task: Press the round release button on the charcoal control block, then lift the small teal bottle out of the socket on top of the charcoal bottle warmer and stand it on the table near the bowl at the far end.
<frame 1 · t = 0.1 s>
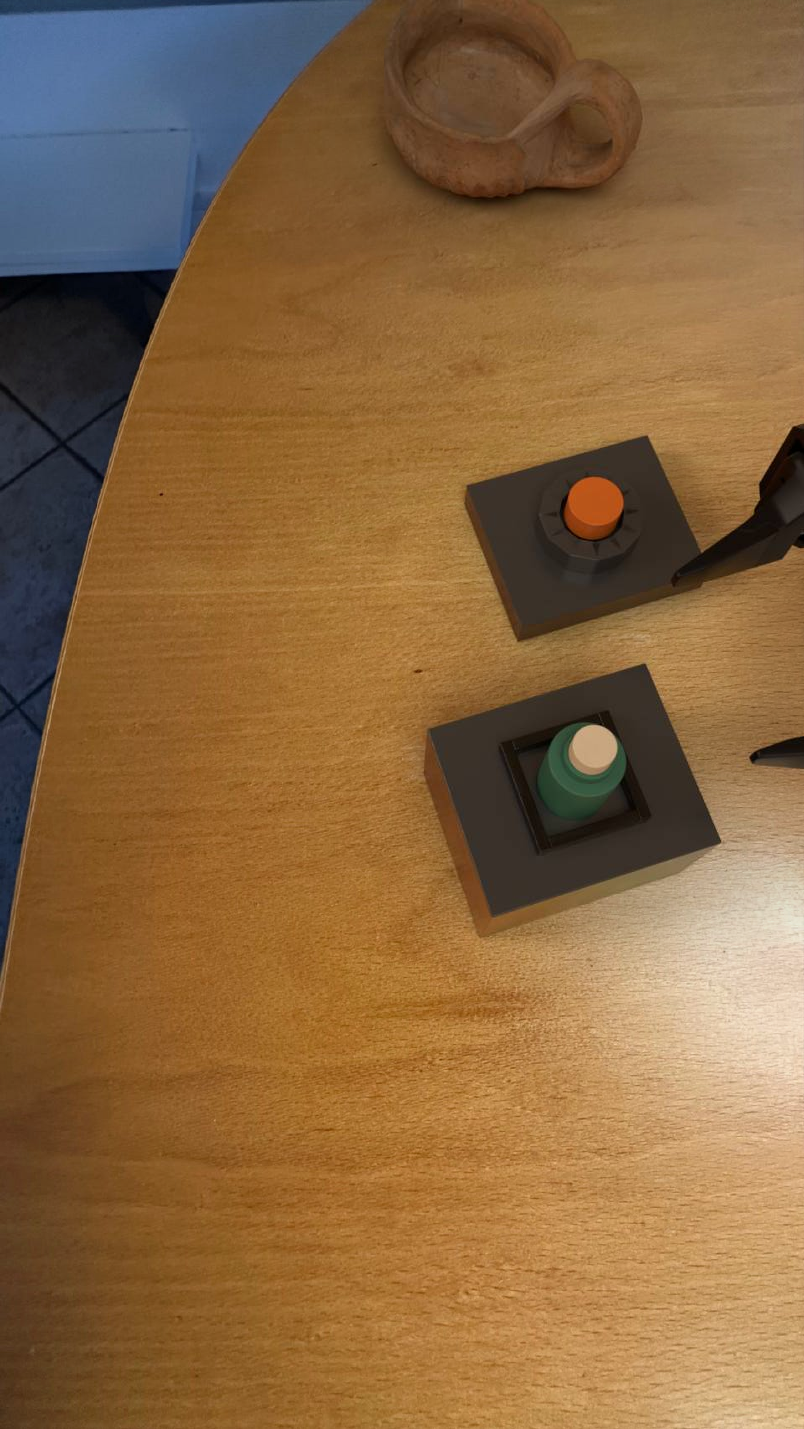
hand: (712, 666, 48), 14 cm above the table, tool horizontal, fingers open, 9 cm apart
bottle: (572, 784, 53), point 8 cm above the table, touching warmer
control: (580, 545, 66), on the table
bowl: (504, 159, 77), on the table
button: (593, 508, 62), point 4 cm above the table, slide at 0.1 cm
warmer: (550, 821, 60), on the table
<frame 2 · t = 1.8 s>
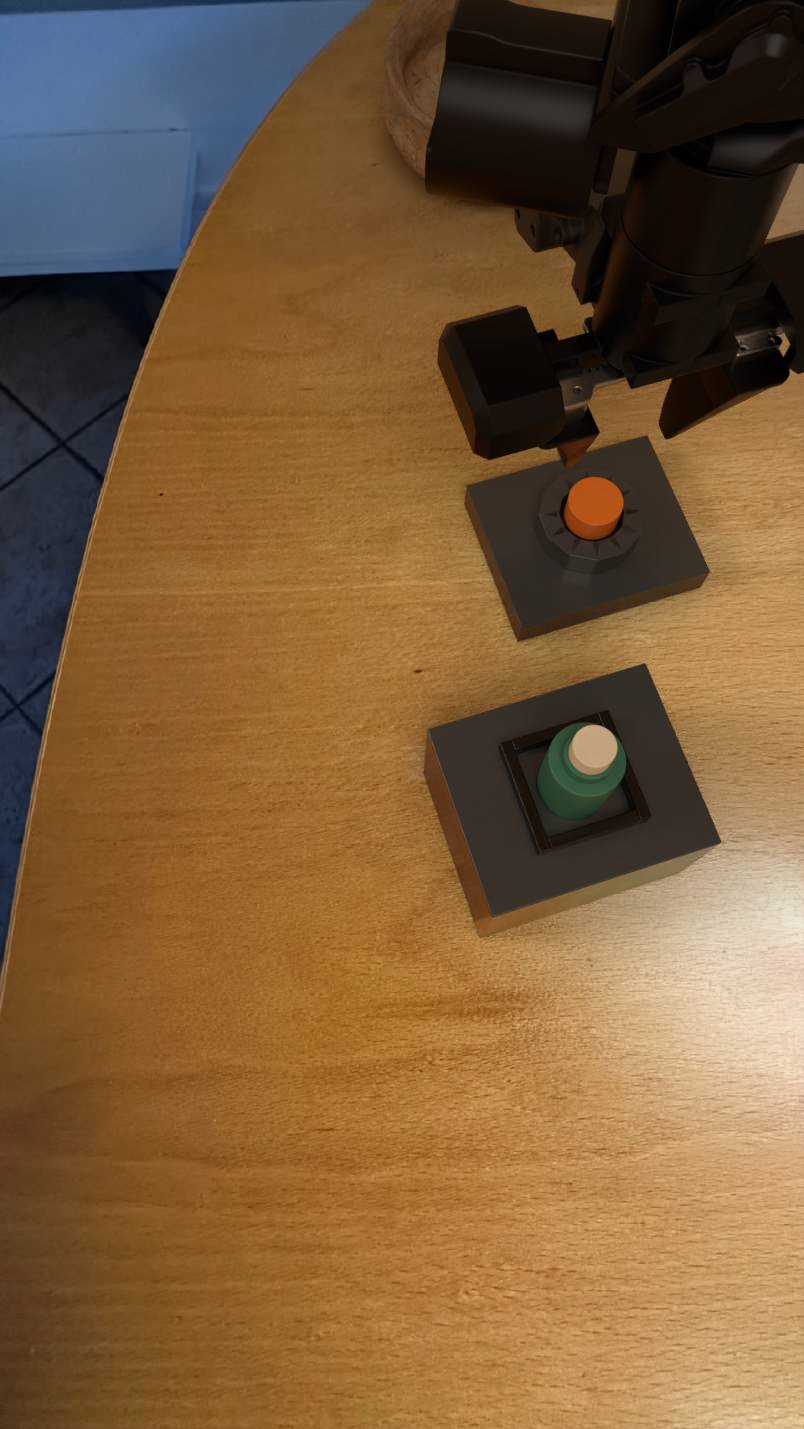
hand: (614, 445, 56), 11 cm above the table, tool pointing down, fingers open, 5 cm apart
nothing on the table moved.
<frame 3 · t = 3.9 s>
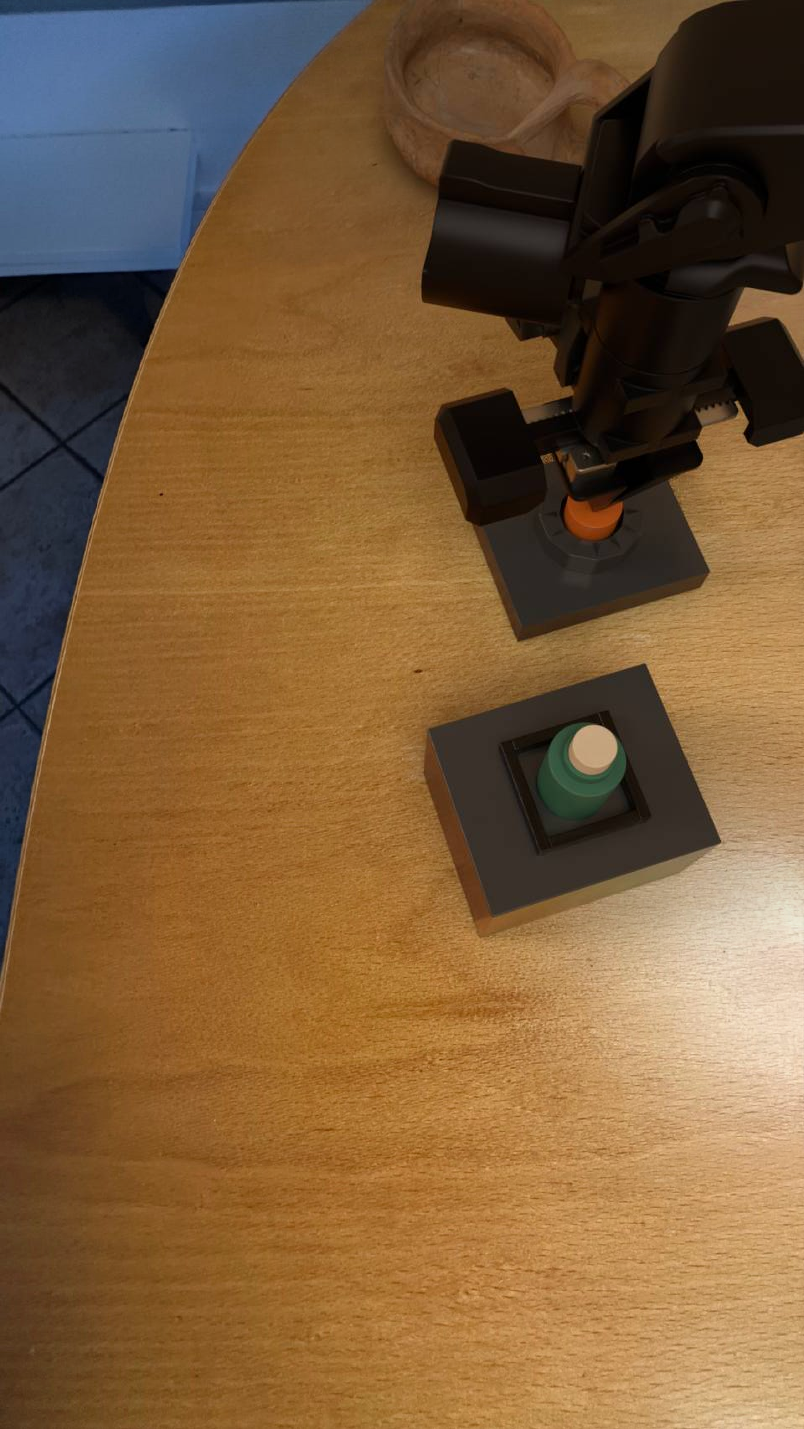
hand: (595, 503, 61), 5 cm above the table, tool pointing down, fingers closed, pressing on button
button: (592, 511, 62), point 4 cm above the table, slide at -0.2 cm, touching gripper
everything else where it was.
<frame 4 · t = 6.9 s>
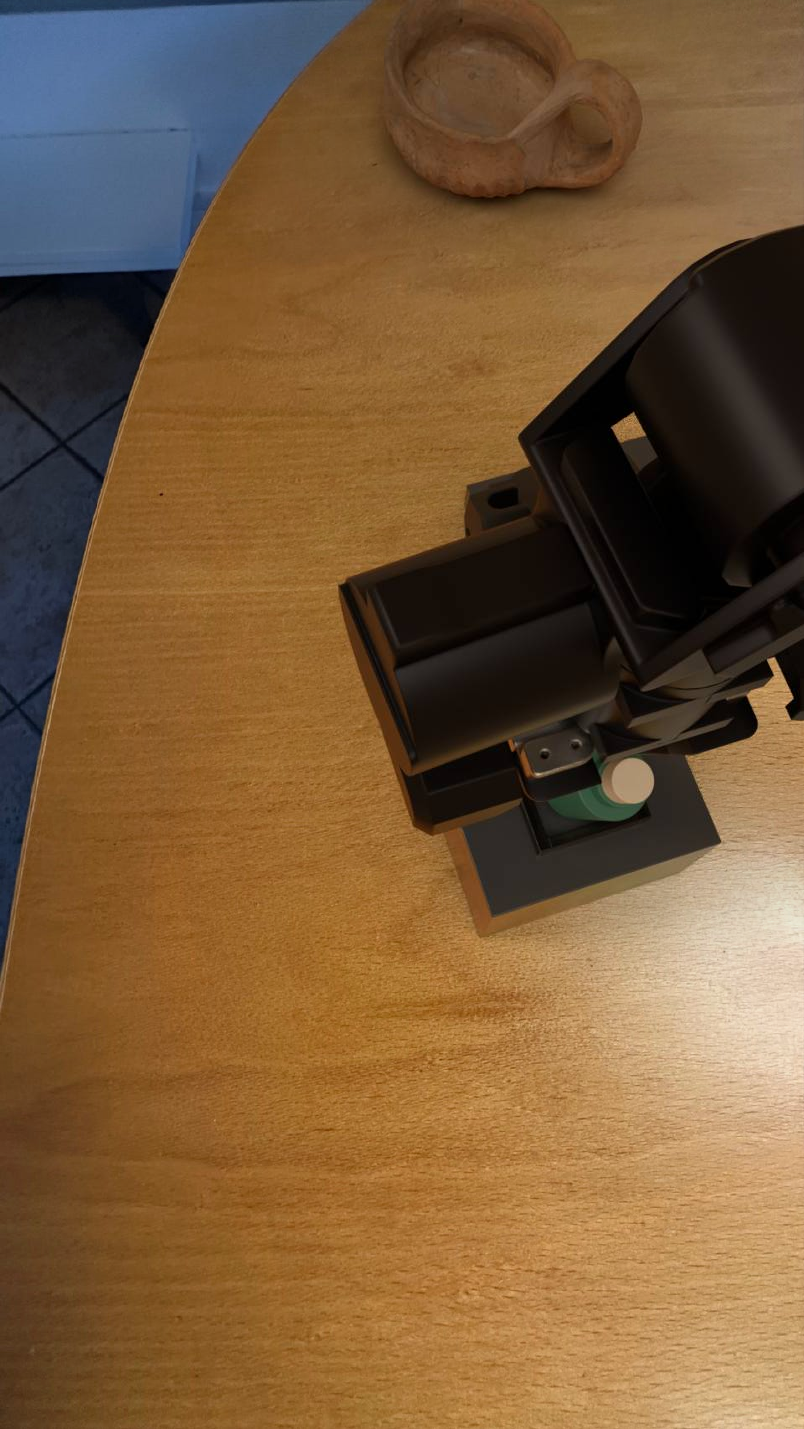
hand: (588, 750, 48), 13 cm above the table, tool pointing down, fingers closed
bottle: (576, 782, 52), point 9 cm above the table, tilted 19°, touching gripper, warmer
button: (593, 508, 62), point 4 cm above the table, slide at 0.1 cm
everything else where it was.
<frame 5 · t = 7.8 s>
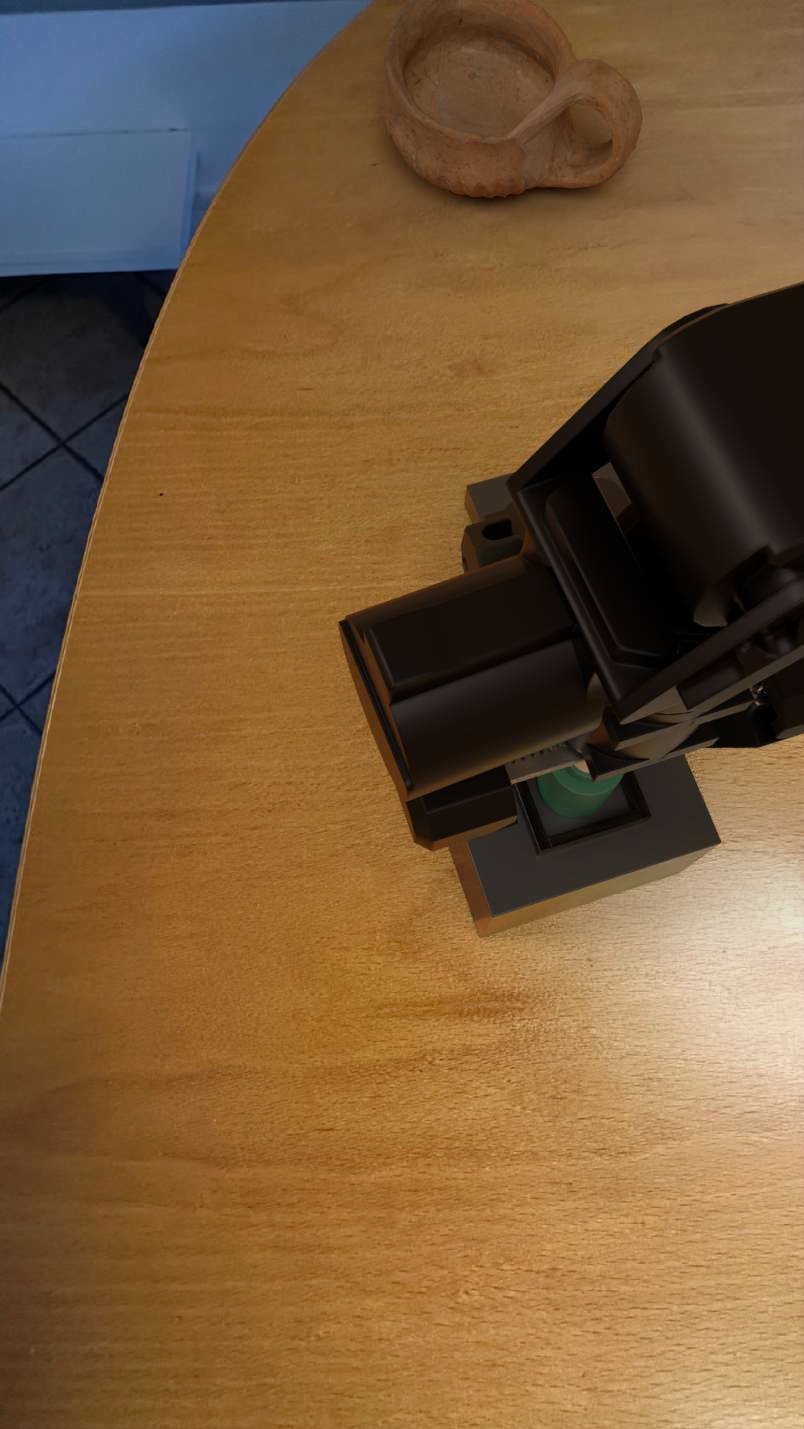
hand: (584, 764, 50), 11 cm above the table, tool pointing down, fingers open, 9 cm apart
bottle: (572, 783, 53), point 8 cm above the table, touching warmer
everything else where it was.
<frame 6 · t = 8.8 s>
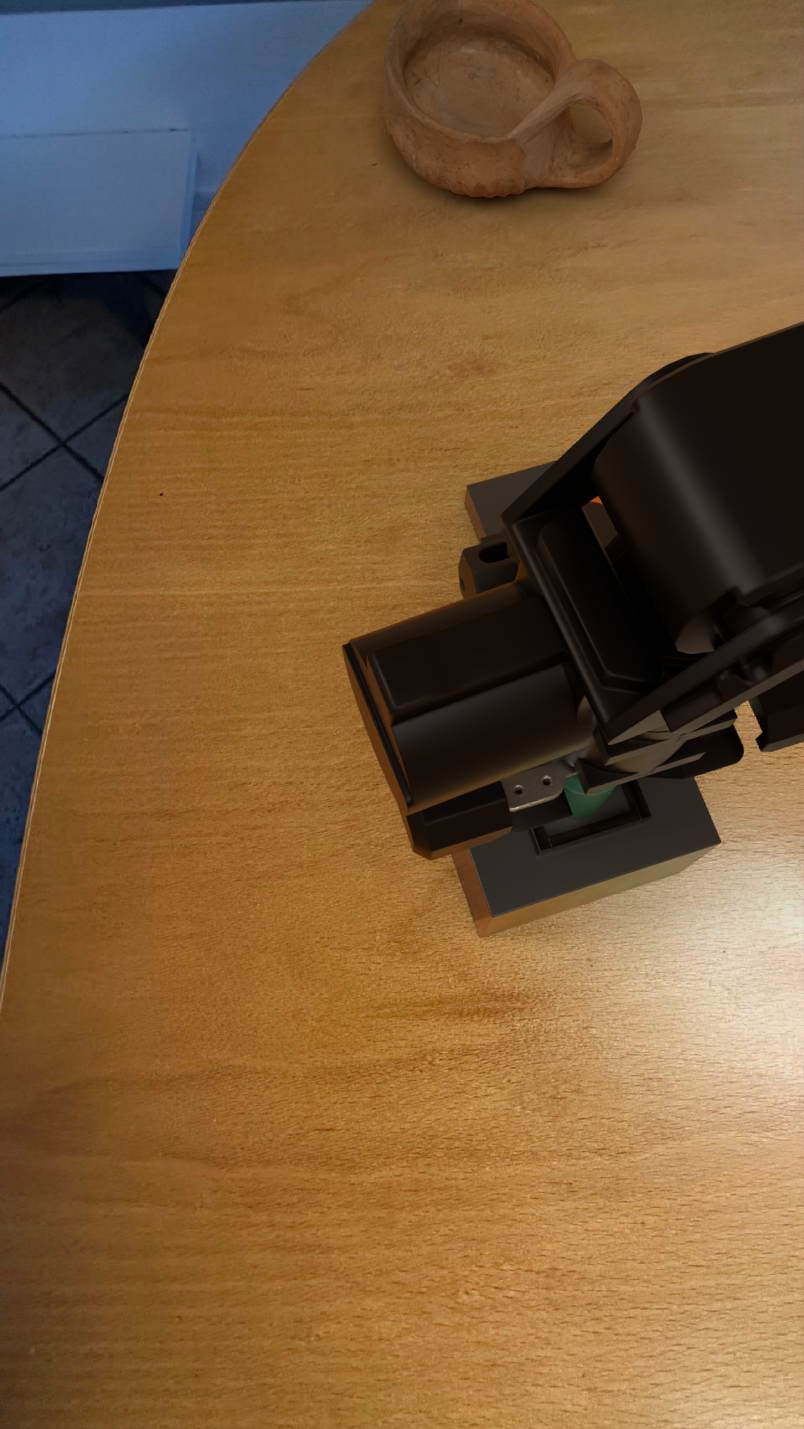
hand: (577, 775, 51), 10 cm above the table, tool pointing down, fingers closed on bottle, 3 cm apart
bottle: (572, 783, 53), point 8 cm above the table, touching gripper, warmer
everything else where it was.
when the fingers open (1 cm above the table, at t = 15.3 s): bottle stays where it is, on the table.
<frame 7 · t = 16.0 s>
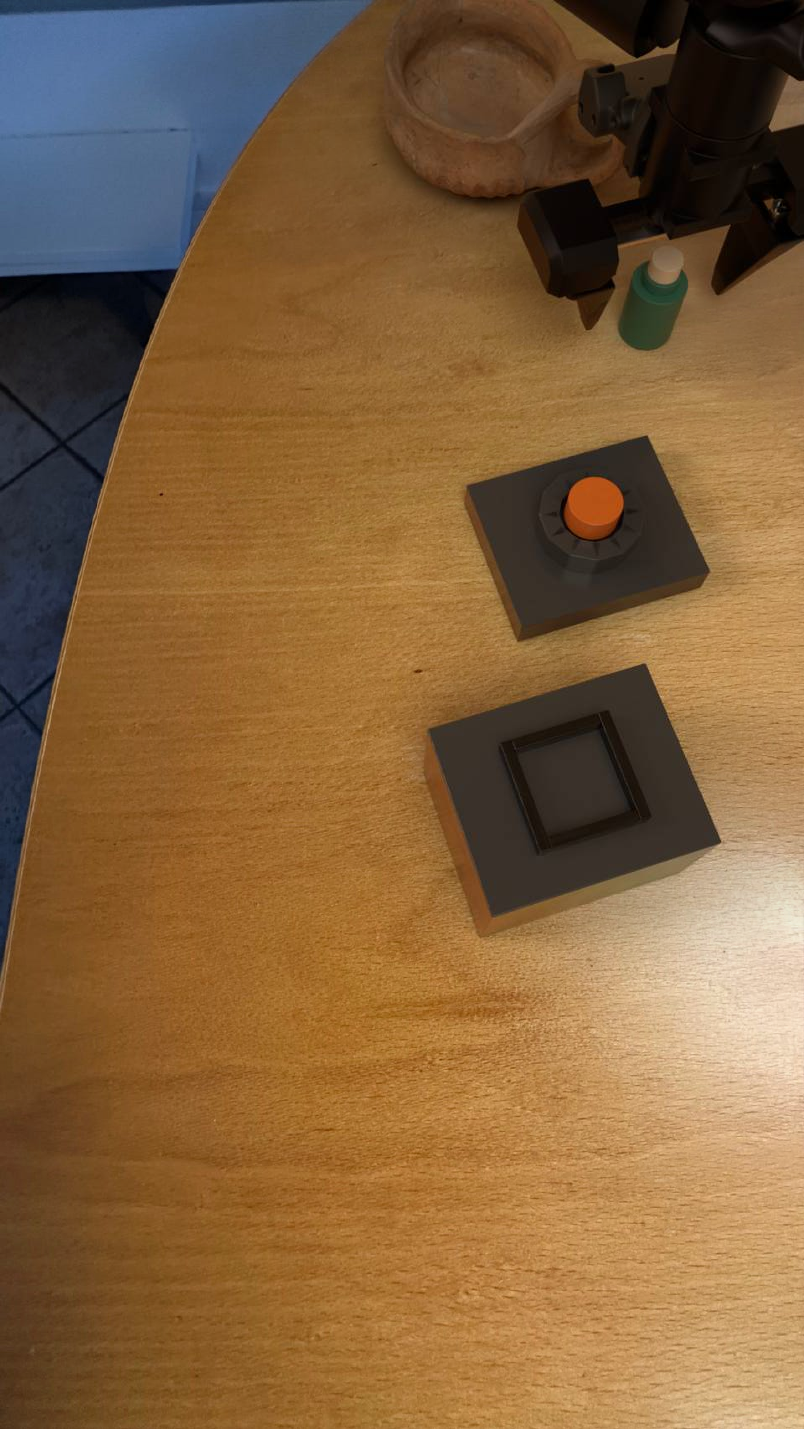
hand: (651, 307, 69), 2 cm above the table, tool pointing down, fingers open, 9 cm apart
bottle: (644, 328, 72), on the table
everything else where it was.
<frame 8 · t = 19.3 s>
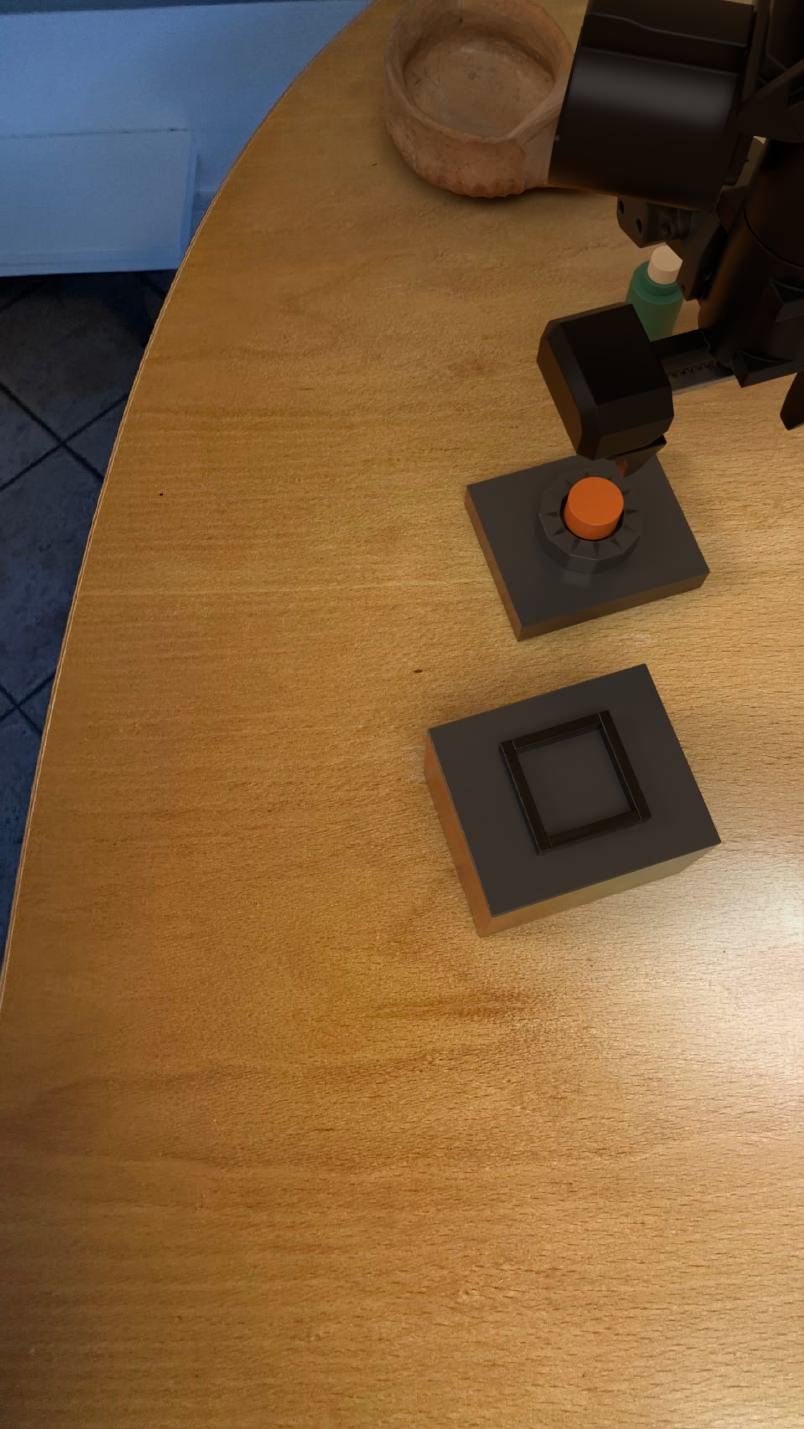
hand: (704, 445, 55), 12 cm above the table, tool pointing down, fingers open, 9 cm apart
nothing on the table moved.
at the end: button pushed in 1.1 cm at the most during the clip, back to where it started at the end; bottle inside the target area (0.0 cm from its centre), on the table; bottle 17.4 cm from the bowl (horizontally) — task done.
